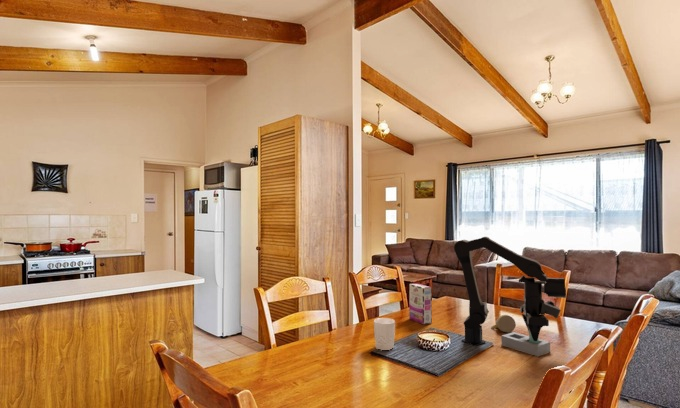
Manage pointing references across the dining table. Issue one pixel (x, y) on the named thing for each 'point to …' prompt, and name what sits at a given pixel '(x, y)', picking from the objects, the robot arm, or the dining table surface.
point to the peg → (532, 339)
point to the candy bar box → (420, 303)
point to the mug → (505, 323)
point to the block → (525, 344)
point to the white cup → (384, 333)
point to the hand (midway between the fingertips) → (533, 338)
